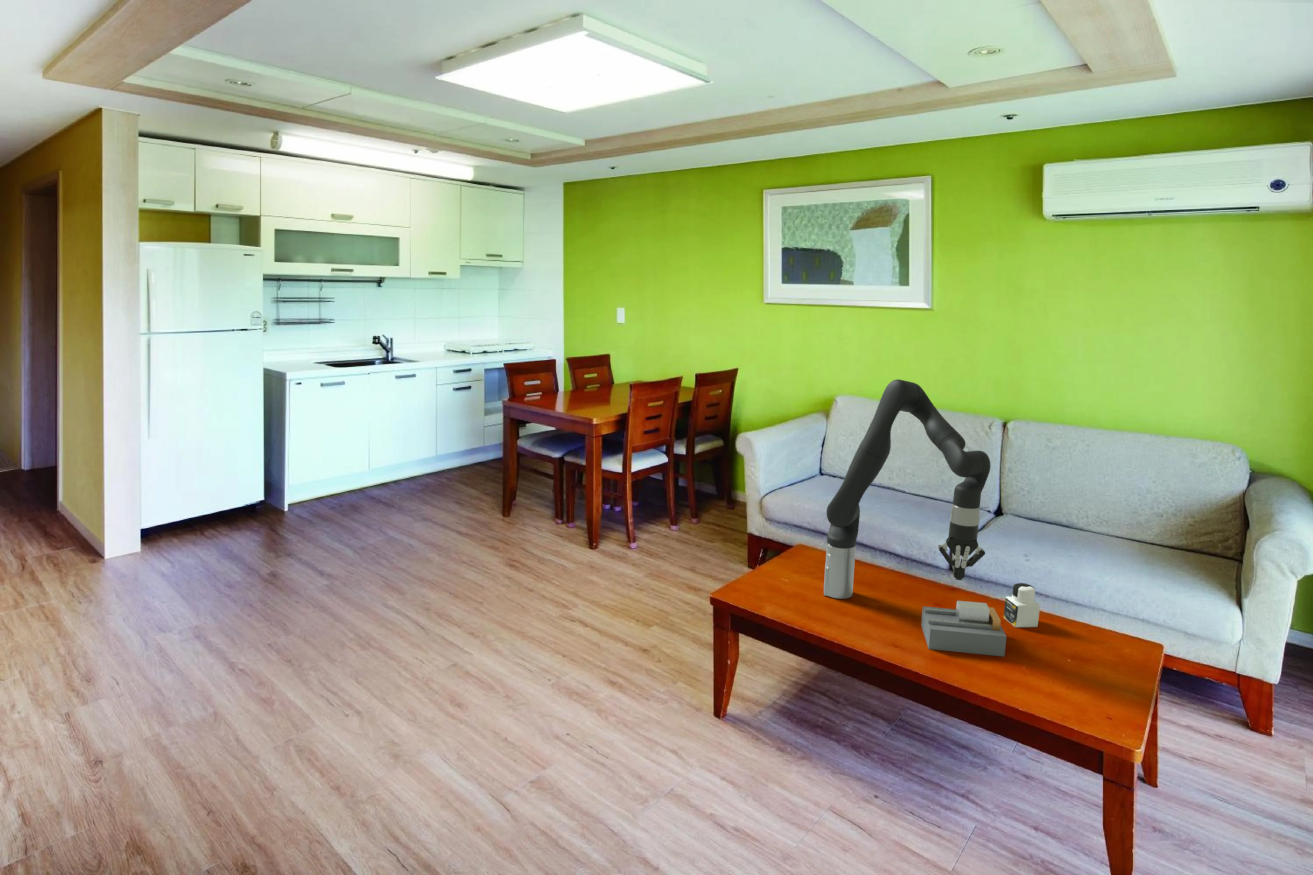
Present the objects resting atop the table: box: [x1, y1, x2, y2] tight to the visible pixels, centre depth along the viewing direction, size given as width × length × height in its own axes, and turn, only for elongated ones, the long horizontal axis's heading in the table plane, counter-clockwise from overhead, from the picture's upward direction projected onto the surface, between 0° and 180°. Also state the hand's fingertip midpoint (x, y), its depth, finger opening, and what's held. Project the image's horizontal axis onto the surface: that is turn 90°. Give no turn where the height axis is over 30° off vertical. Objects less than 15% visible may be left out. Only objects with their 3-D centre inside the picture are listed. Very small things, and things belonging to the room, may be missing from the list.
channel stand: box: [920, 606, 1007, 657], centre depth 222 cm, size 20×16×9 cm
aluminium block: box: [955, 600, 990, 624], centre depth 221 cm, size 8×5×5 cm, turn 79°
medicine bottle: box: [1003, 582, 1041, 628], centre depth 234 cm, size 7×7×12 cm
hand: (958, 579), depth 220 cm, fingers closed
